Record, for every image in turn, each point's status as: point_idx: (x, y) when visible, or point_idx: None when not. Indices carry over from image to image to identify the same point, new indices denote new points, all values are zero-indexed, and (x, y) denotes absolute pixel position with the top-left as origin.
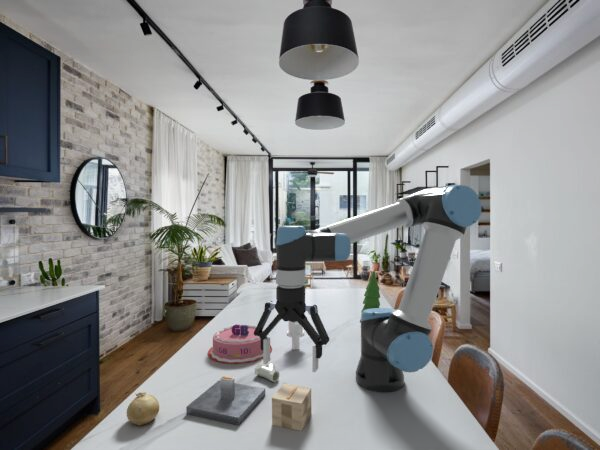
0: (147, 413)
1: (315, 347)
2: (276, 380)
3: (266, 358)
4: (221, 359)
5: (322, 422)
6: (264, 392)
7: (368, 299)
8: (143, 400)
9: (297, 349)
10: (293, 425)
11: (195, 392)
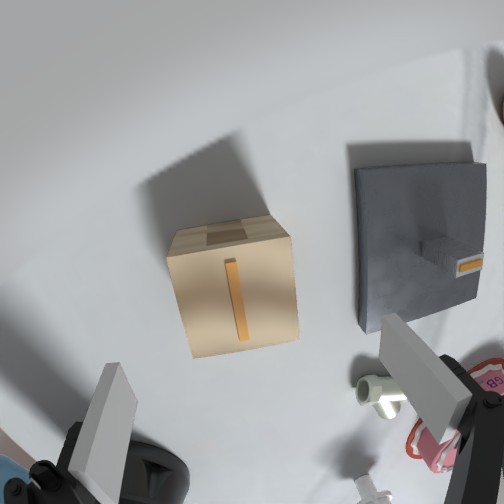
0: None
1: (69, 465)
2: (357, 385)
3: (395, 336)
4: (486, 368)
5: (148, 292)
6: (362, 324)
7: None
8: None
9: (357, 478)
10: (201, 228)
11: (494, 244)
